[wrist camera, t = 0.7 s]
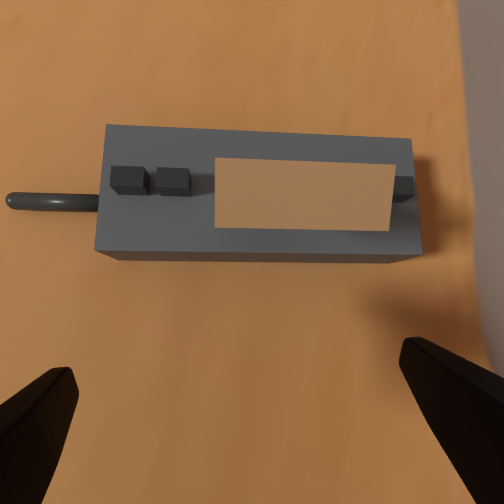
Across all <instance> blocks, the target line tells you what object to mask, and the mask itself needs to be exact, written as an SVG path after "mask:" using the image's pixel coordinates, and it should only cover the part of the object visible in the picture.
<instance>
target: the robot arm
mask: <svg viewBox="0 0 504 504" xmlns="http://www.w3.org/2000/svg"><path fill="white" fill-rule="evenodd" d="M399 366H400V369H401V371H402V373H403V375H404V377H405V379H406V381H407V383H408V385H409V387H410V389H411V391H412V393H413V395H414V397H415V399H416V402H417V404H418V406H419V408H420V410H421V412H422V414H423V416H424V417H425V419H426V421H427V423H428V425H429V427H430V428H431V430H432V432H433V433H434V435H435V437H436V438H437V440H438V442H439V443H440V445H441V446H442V448H443V450H444V451H445V453H446V455H447V456H448V458H449V460H450V461H451V463H452V465H453V466H454V468H455V470H456V471H457V473H458V474H459V476H460V478H461V479H462V481H463V483H464V484H465V486H466V488H467V489H468V491H469V493H470V494H471V496H472V497H473V499H474V501H475V502H476V504H504V378H502V377H500V376H498V375H496V374H494V373H492V372H490V371H488V370H486V369H484V368H482V367H480V366H478V365H476V364H474V363H472V362H470V361H468V360H466V359H464V358H462V357H460V356H458V355H456V354H454V353H452V352H450V351H448V350H446V349H444V348H442V347H440V346H438V345H436V344H434V343H432V342H430V341H428V340H426V339H424V338H422V337H408V338H405V339H404V341H403V345H402V349H401V353H400V358H399ZM78 398H79V390H78V386H77V383H76V380H75V377H74V374H73V371H72V369H71V368H70V367H58V368H52V369H50V370H48V371H47V372H46V373H44V374H43V375H41V376H40V377H39V378H37V379H36V380H34V381H33V382H32V383H30V384H29V385H27V386H26V387H25V388H23V389H22V390H20V391H19V392H18V393H16V394H15V395H13V396H12V397H11V398H9V399H8V400H6V401H5V402H4V403H2V404H1V405H0V504H42V501H43V499H44V496H45V494H46V492H47V489H48V487H49V485H50V482H51V480H52V477H53V475H54V472H55V470H56V467H57V465H58V462H59V459H60V456H61V453H62V450H63V447H64V444H65V440H66V437H67V434H68V431H69V428H70V424H71V421H72V418H73V415H74V412H75V408H76V405H77V402H78Z"/></svg>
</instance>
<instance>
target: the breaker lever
mask: <svg viewBox="0 0 504 504" xmlns="http://www.w3.org/2000/svg"><path fill="white" fill-rule="evenodd" d="M395 169H396V165H389V164H364V163H338V162H313V161H288V160H263V159H238V158H215V228H262V229H310V230H359V231H389V225H390V215H391V206H392V197H393V188H394V179H395Z"/></svg>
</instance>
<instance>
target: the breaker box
mask: <svg viewBox="0 0 504 504" xmlns="http://www.w3.org/2000/svg"><path fill="white" fill-rule="evenodd" d="M215 158H238V159H263V160H288V161H313V162H338V163H364V164H389V165H396V169H395V179H394V188H393V197H392V206H391V215H390V225H389V231H359V230H310V229H262V228H215ZM5 201H6V204H7V205H8V206H9V207H10V208H12V209H16V210H51V211H92V212H98V216H97V226H96V237H95V248H94V250H95V251H97V252H100V253H102V254H105V255H107V256H110V257H112V258H115V259H117V260H132V261H219V262H306V263H393V262H397V261H401V260H405V259H409V258H413V257H417V256H421V255H423V249H422V239H421V229H420V219H419V210H418V200H417V190H416V180H415V171H414V161H413V151H412V141H411V139H405V138H384V137H363V136H342V135H321V134H300V133H279V132H258V131H236V130H215V129H194V128H173V127H152V126H131V125H110V124H106V131H105V142H104V152H103V163H102V174H101V184H100V195H96V194H61V193H27V192H12V193H10V194H8V195H7V196H6V199H5Z"/></svg>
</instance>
